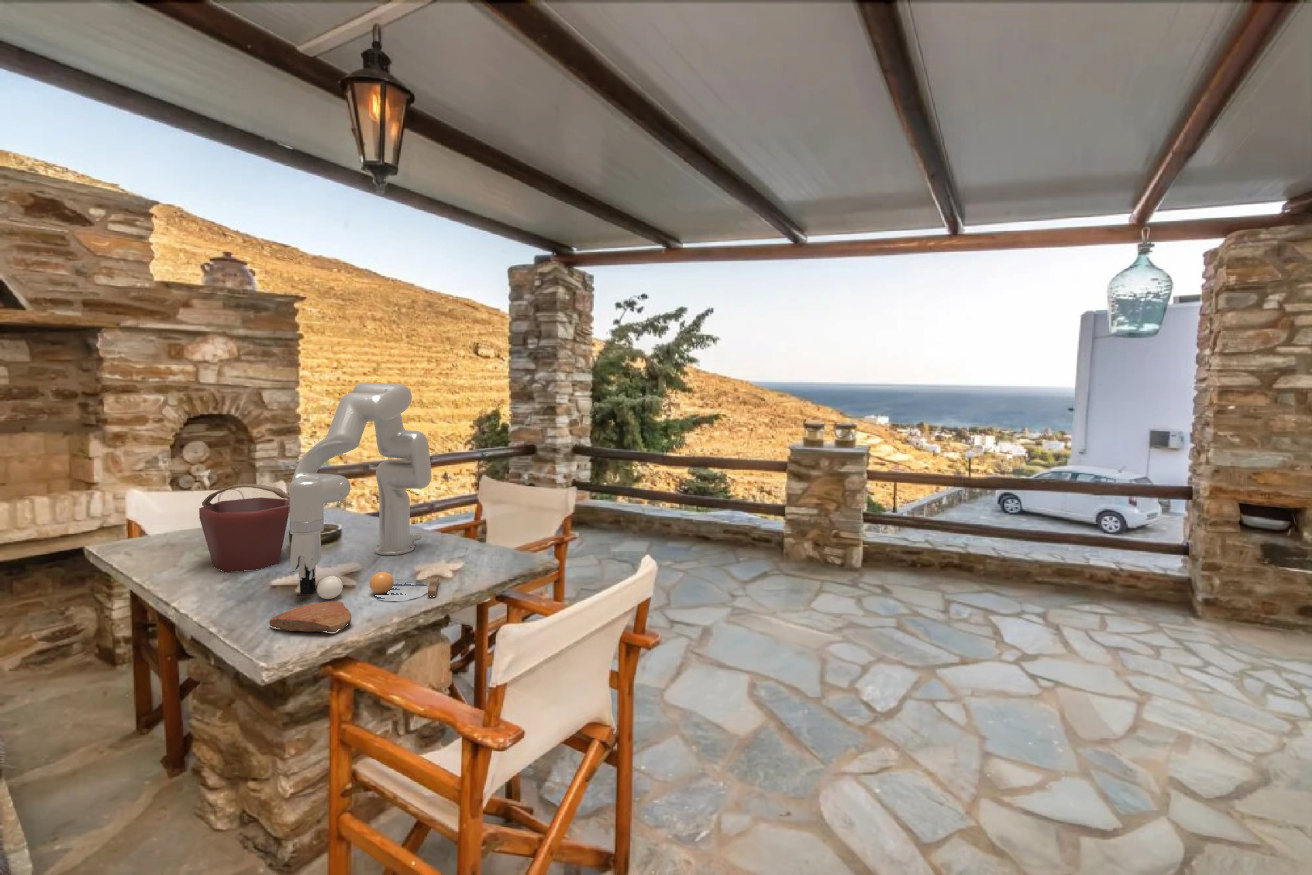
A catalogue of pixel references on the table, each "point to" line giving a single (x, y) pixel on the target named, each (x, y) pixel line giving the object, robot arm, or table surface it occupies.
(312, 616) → the ceramic shard
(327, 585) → the cue ball
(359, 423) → the robot arm
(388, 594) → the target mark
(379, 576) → the object ball
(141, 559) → the table surface
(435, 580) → the stopper rail
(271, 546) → the bucket
